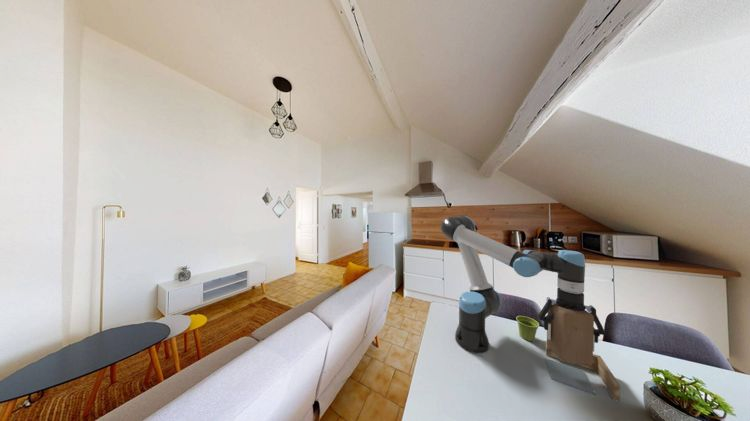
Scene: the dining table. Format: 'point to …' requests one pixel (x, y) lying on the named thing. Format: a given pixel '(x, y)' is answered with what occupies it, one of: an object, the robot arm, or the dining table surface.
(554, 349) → the wooden block
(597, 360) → the wooden angle piece
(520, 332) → the plant pot
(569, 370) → the mat
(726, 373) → the dining table surface
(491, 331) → the dining table surface
